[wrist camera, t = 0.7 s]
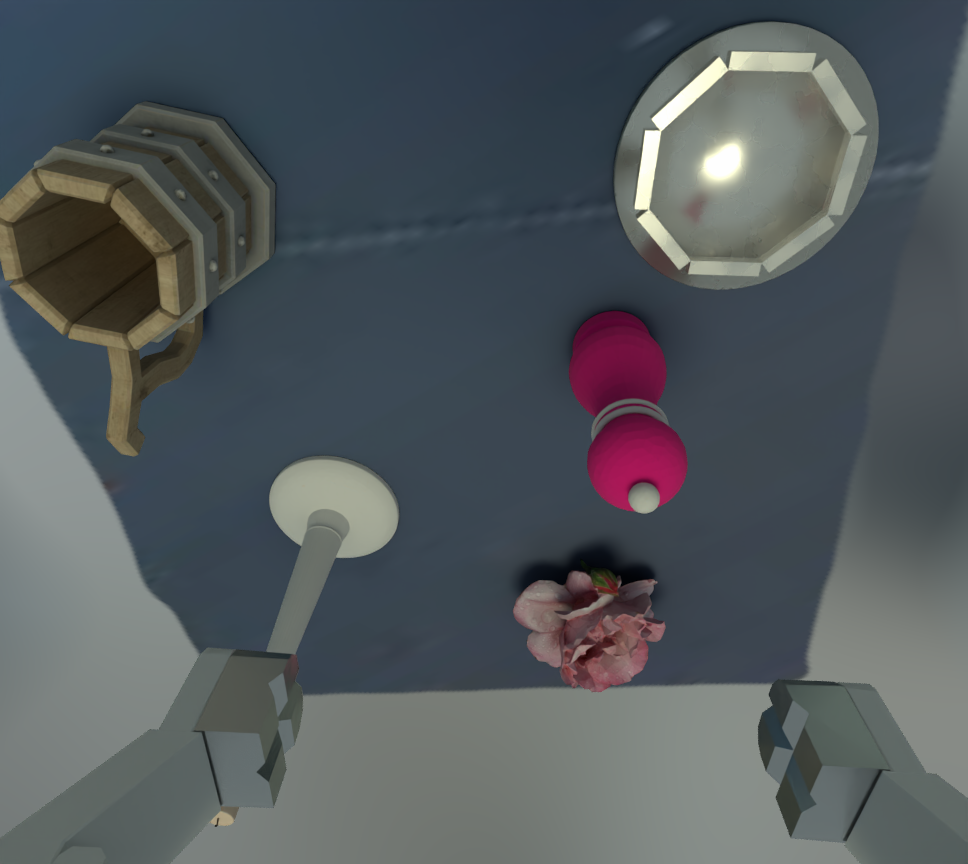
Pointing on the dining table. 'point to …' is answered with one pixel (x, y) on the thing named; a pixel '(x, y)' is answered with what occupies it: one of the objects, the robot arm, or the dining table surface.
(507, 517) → the dining table surface
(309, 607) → the candlestick
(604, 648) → the flower
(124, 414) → the tankard
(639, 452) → the pepper mill
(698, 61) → the silver metal plate
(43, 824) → the robot arm
